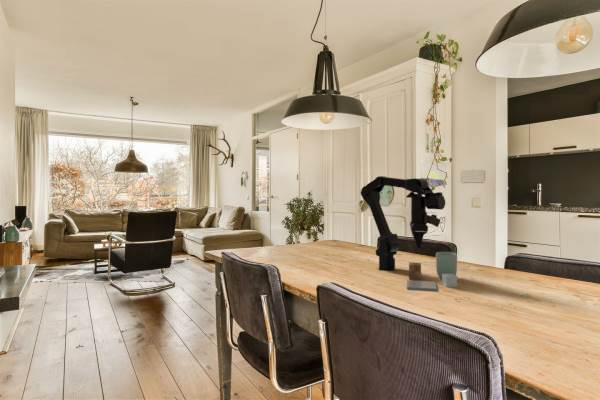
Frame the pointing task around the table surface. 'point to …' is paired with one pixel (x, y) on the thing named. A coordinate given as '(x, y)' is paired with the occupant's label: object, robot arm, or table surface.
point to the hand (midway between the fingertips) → (418, 246)
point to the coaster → (421, 285)
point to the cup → (446, 263)
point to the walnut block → (414, 271)
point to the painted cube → (449, 280)
